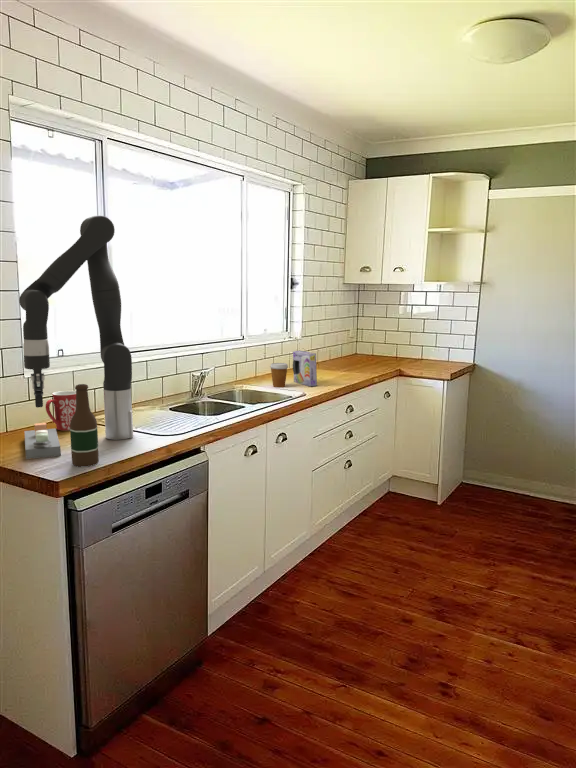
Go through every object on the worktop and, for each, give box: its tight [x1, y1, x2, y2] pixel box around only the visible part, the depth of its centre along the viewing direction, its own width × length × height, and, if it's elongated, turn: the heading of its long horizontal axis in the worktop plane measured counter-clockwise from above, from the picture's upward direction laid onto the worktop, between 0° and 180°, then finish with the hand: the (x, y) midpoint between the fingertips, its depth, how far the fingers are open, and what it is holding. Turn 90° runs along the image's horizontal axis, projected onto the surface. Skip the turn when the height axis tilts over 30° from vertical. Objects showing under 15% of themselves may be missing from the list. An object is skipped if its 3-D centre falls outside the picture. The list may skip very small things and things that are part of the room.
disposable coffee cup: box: [269, 362, 289, 388], centre depth 311 cm, size 10×10×12 cm
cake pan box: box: [292, 350, 318, 387], centre depth 318 cm, size 19×5×18 cm, turn 28°
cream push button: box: [35, 430, 48, 434], centre depth 188 cm, size 4×4×2 cm
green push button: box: [36, 433, 49, 442], centre depth 184 cm, size 4×4×2 cm
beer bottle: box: [69, 383, 100, 468], centre depth 175 cm, size 8×8×24 cm
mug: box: [45, 390, 76, 431], centre depth 217 cm, size 13×9×14 cm
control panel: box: [24, 428, 62, 460], centre depth 194 cm, size 10×26×3 cm, turn 24°
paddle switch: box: [34, 422, 48, 435], centre depth 197 cm, size 4×3×3 cm
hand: (39, 406), depth 190 cm, fingers closed
